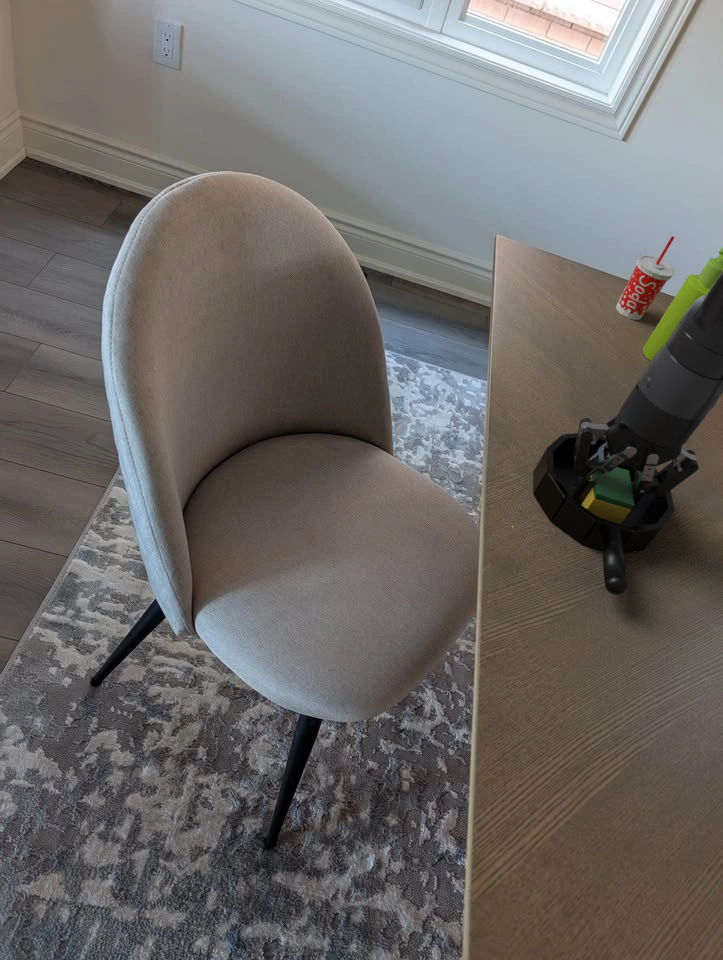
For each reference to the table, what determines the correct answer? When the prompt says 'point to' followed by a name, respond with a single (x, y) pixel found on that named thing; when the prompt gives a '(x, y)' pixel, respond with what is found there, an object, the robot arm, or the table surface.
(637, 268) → the beverage cup
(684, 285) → the soap dispenser
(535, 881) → the table surface
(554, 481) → the pan
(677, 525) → the table surface
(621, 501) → the sponge
